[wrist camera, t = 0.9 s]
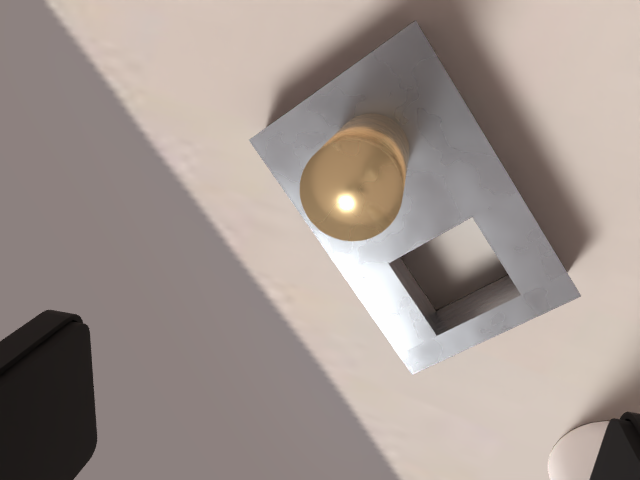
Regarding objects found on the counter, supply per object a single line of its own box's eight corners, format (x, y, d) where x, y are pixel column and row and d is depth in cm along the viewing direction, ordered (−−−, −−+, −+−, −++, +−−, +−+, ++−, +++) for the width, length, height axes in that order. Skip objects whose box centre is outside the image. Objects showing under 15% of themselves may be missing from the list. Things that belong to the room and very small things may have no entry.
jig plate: (264, 131, 31) (248, 140, 28) (416, 22, 28) (415, 20, 25) (413, 347, 34) (412, 374, 31) (567, 273, 30) (581, 296, 28)
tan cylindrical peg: (339, 107, 27) (305, 132, 19) (415, 119, 26) (411, 149, 19) (329, 182, 28) (294, 231, 21) (401, 194, 28) (393, 249, 20)
